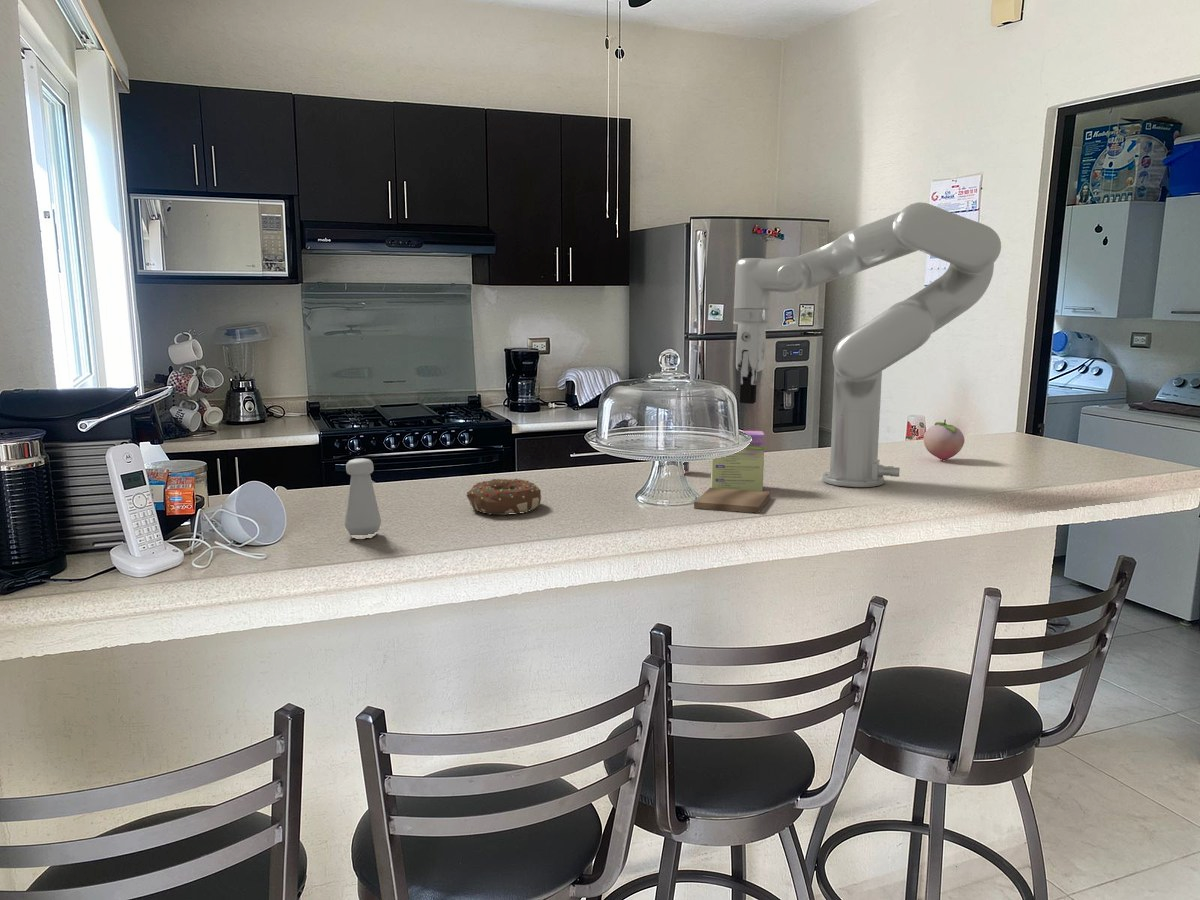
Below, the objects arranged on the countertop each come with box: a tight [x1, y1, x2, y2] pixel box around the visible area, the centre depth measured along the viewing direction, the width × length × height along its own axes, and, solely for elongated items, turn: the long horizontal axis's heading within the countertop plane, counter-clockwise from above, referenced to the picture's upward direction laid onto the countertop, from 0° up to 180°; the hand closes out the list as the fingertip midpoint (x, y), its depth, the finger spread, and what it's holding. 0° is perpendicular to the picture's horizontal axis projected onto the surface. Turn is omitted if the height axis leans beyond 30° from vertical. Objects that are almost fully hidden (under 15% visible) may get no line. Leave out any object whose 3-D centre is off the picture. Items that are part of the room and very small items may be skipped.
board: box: [693, 487, 771, 514], centre depth 162 cm, size 12×13×1 cm
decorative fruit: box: [923, 419, 965, 461], centre depth 202 cm, size 9×8×10 cm
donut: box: [466, 478, 542, 515], centre depth 159 cm, size 14×14×5 cm
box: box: [710, 430, 765, 491], centre depth 174 cm, size 10×6×12 cm, turn 84°
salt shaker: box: [344, 457, 382, 536], centre depth 140 cm, size 6×6×13 cm
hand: (747, 402), depth 185 cm, fingers closed
